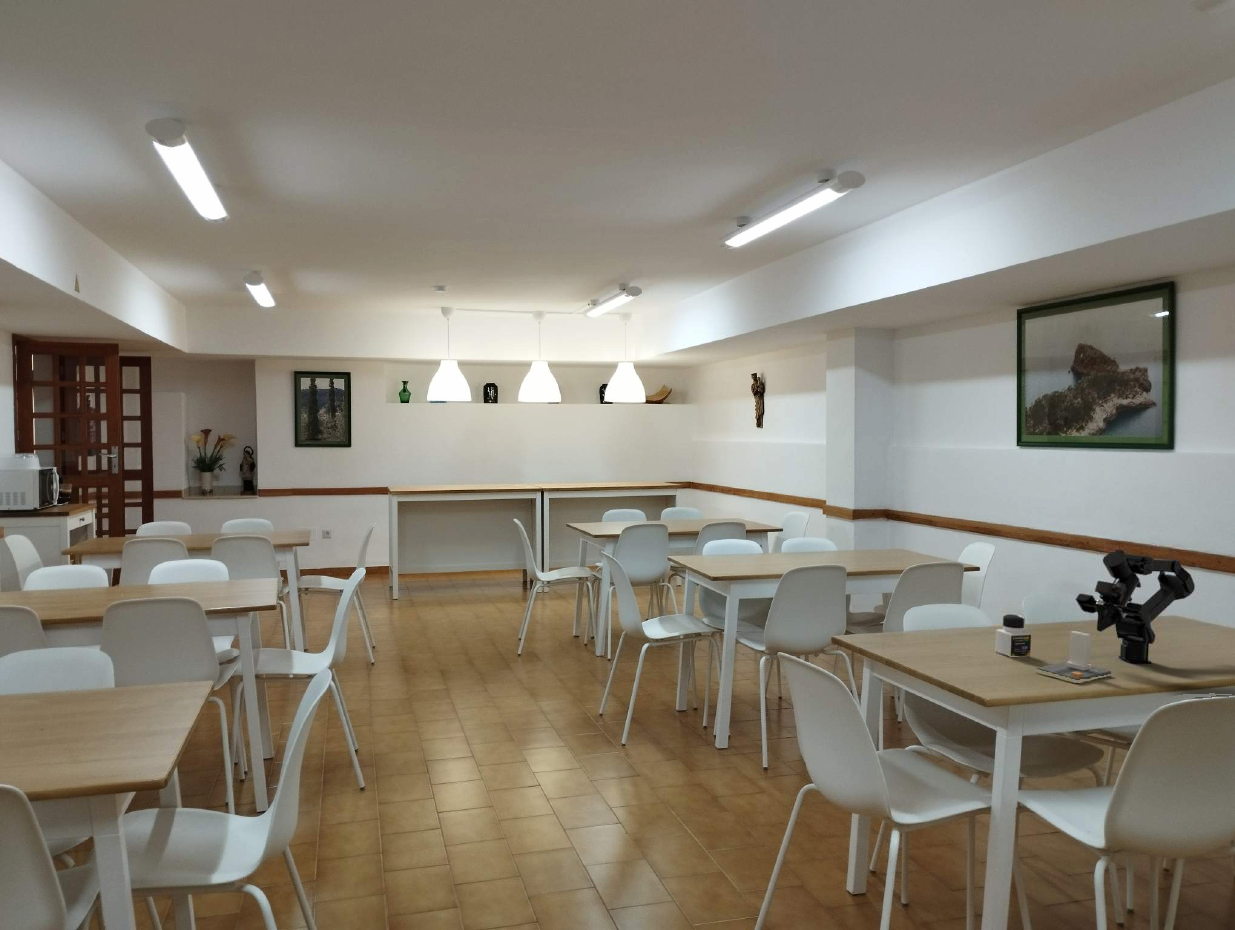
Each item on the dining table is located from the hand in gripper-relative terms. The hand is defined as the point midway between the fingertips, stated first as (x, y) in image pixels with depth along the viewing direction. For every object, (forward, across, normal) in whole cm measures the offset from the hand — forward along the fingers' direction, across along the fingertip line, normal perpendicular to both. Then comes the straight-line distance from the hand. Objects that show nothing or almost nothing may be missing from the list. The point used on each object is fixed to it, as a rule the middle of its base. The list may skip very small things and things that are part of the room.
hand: (1098, 630), depth 255 cm
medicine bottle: (+13, -22, +3) cm, 26 cm away
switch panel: (+16, 0, 0) cm, 16 cm away
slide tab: (+13, 0, 0) cm, 13 cm away
